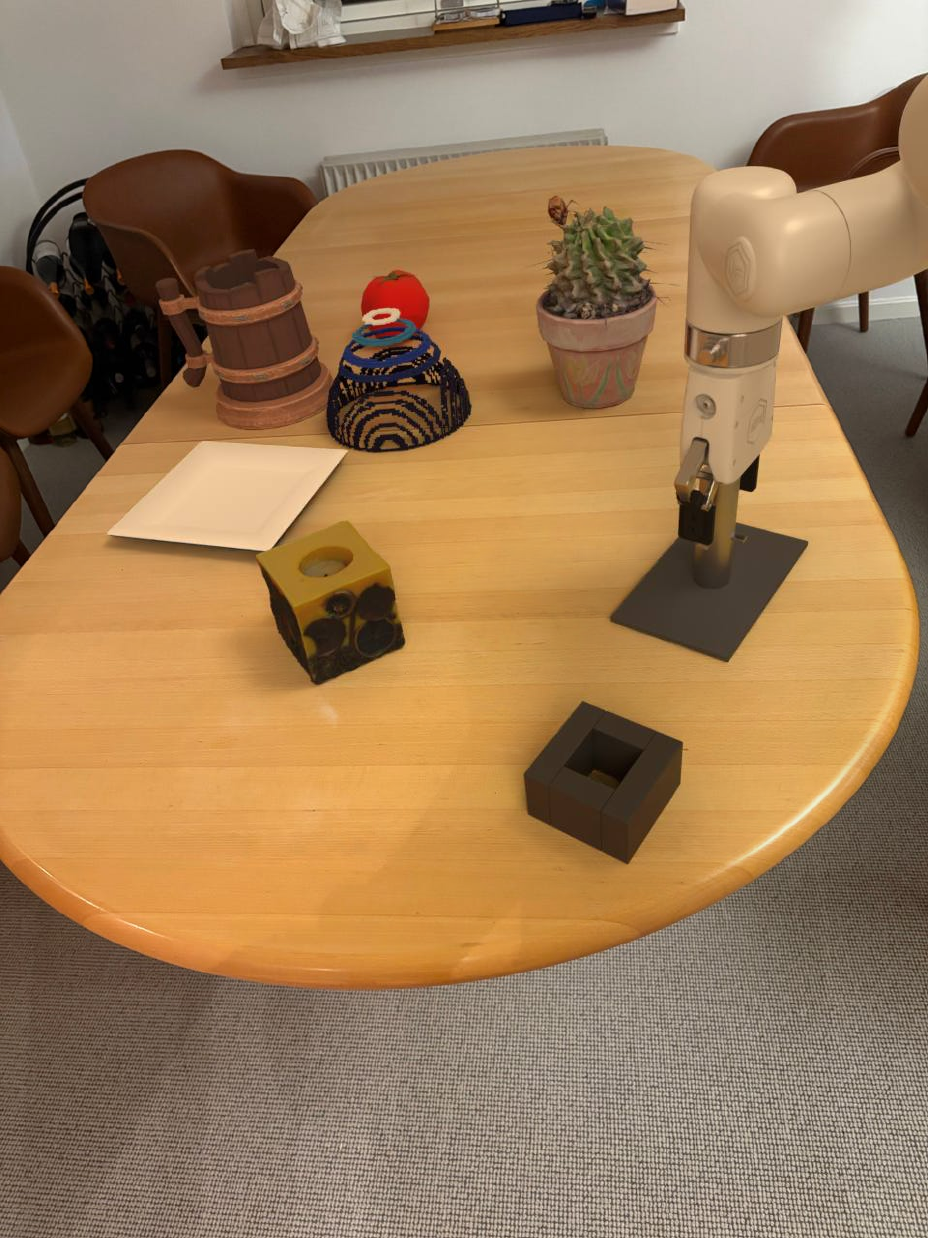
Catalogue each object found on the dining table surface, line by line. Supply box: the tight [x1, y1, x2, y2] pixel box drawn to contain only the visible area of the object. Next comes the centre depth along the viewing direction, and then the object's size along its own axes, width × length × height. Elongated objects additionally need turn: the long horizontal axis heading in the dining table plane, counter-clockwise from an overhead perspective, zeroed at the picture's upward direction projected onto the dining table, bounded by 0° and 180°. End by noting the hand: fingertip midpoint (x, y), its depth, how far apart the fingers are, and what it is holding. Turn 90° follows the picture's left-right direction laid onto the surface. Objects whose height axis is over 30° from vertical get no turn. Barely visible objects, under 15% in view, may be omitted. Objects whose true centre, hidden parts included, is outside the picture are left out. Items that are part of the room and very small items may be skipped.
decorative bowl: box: [325, 308, 472, 454], centre depth 119 cm, size 20×20×14 cm
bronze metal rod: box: [693, 465, 748, 588], centre depth 84 cm, size 6×6×12 cm
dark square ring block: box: [523, 700, 684, 865], centre depth 68 cm, size 9×9×5 cm
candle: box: [255, 520, 406, 685], centre depth 85 cm, size 10×10×10 cm
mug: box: [155, 248, 335, 430], centre depth 126 cm, size 18×23×20 cm
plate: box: [106, 440, 349, 553], centre depth 110 cm, size 22×22×2 cm
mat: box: [609, 521, 809, 663], centre depth 88 cm, size 12×20×1 cm, turn 144°
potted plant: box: [517, 195, 680, 410], centre depth 114 cm, size 18×20×25 cm
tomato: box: [360, 269, 430, 338], centre depth 142 cm, size 11×13×10 cm
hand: (717, 513), depth 83 cm, fingers open, 9 cm apart
